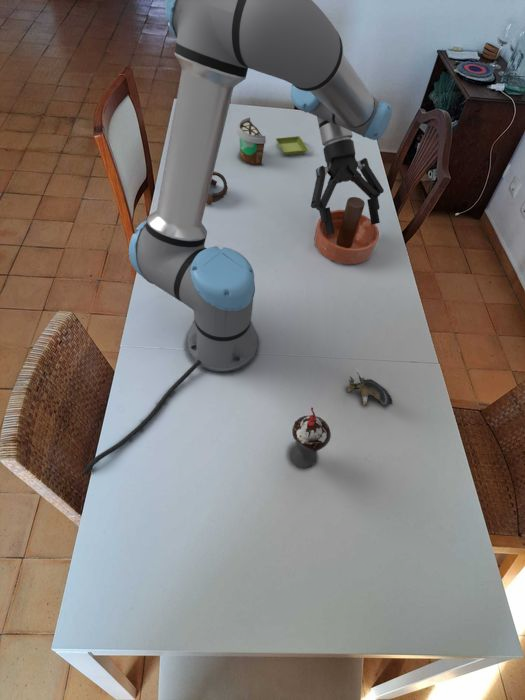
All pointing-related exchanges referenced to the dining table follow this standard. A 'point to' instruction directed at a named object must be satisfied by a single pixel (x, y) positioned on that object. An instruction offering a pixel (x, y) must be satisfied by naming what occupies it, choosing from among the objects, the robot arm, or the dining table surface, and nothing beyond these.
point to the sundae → (308, 439)
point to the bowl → (361, 244)
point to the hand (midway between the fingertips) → (353, 229)
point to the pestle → (350, 222)
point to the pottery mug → (219, 195)
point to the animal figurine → (370, 390)
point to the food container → (250, 143)
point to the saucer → (292, 145)
